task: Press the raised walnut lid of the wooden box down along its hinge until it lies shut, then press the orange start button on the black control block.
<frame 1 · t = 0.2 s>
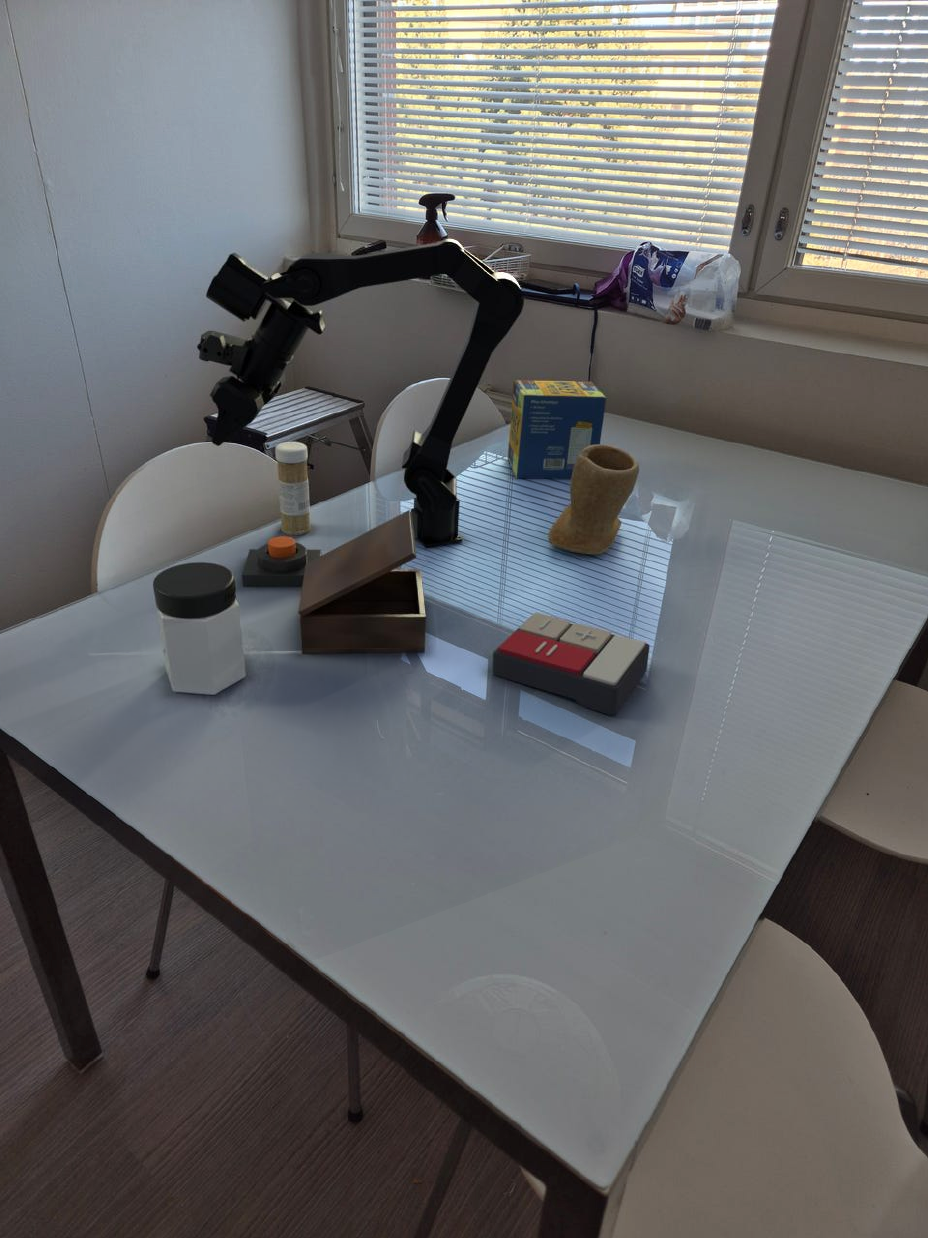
hand: (224, 434, 118), 15 cm above the table, tool tilted 30°, fingers open, 9 cm apart
start button: (281, 547, 111), point 4 cm above the table, slide at 0.2 cm
sprinkles bottle: (296, 531, 126), on the table
protein box: (550, 470, 156), on the table
lid: (357, 561, 97), point 9 cm above the table, hinge at 30.0°
stone cup: (589, 541, 128), on the table
control block: (283, 574, 113), on the table
wooden box: (364, 626, 102), on the table
jar: (206, 675, 91), on the table
calculator: (569, 674, 95), on the table
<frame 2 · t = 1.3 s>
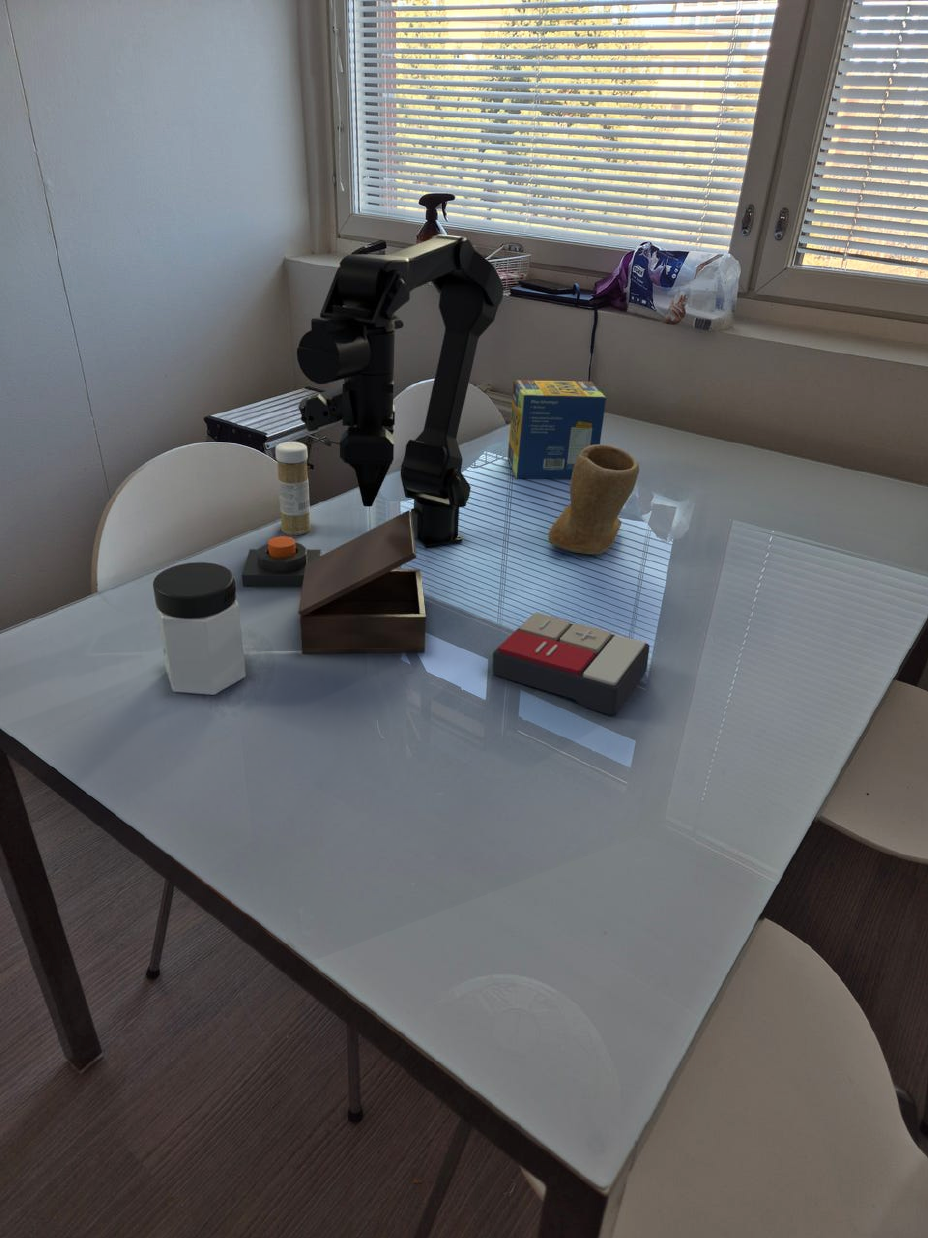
hand: (369, 493, 106), 13 cm above the table, tool pointing down, fingers open, 9 cm apart
nothing on the table moved.
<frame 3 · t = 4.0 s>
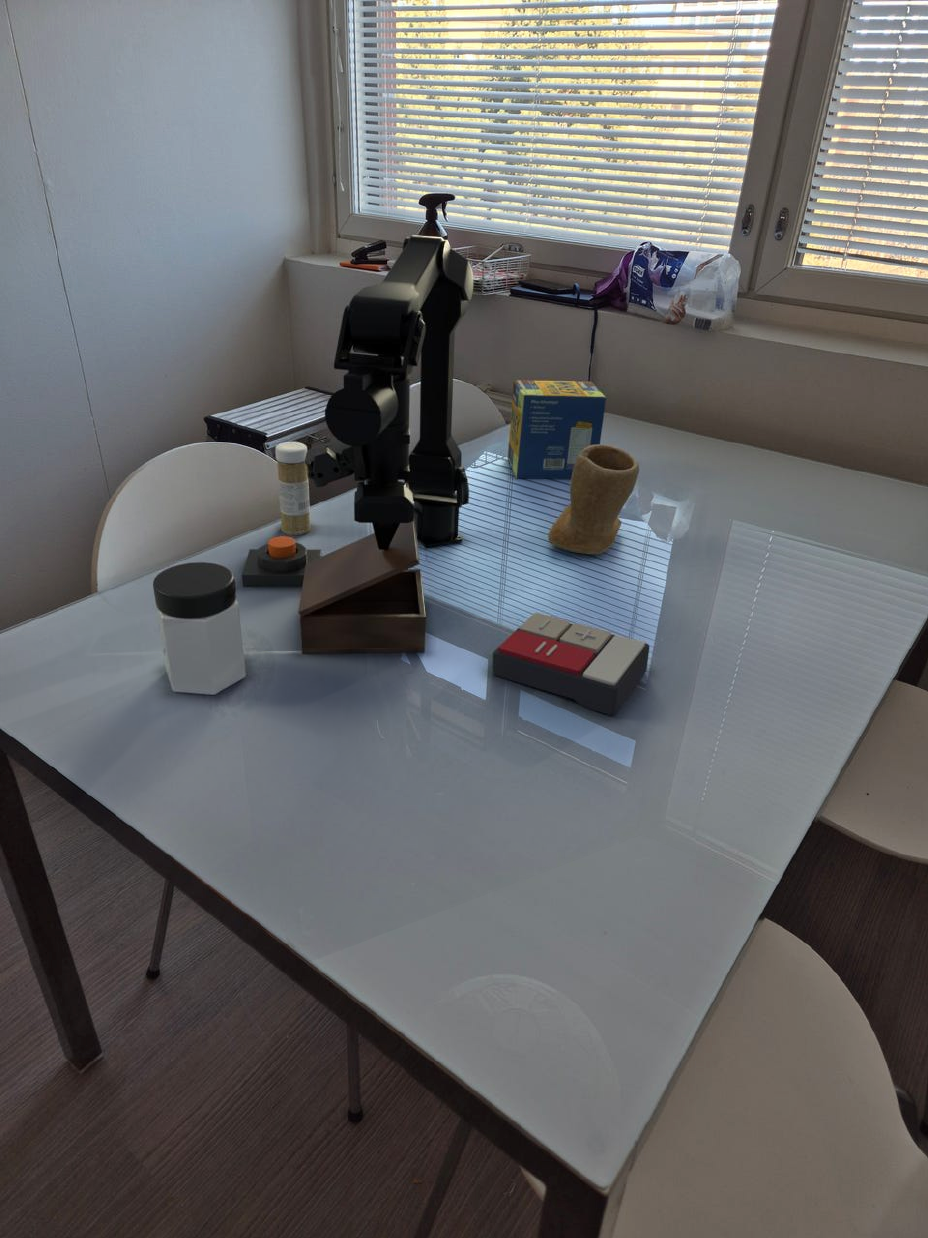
hand: (383, 548, 97), 11 cm above the table, tool pointing down, fingers closed
lid: (359, 563, 97), point 9 cm above the table, hinge at 26.7°
everything else where it was.
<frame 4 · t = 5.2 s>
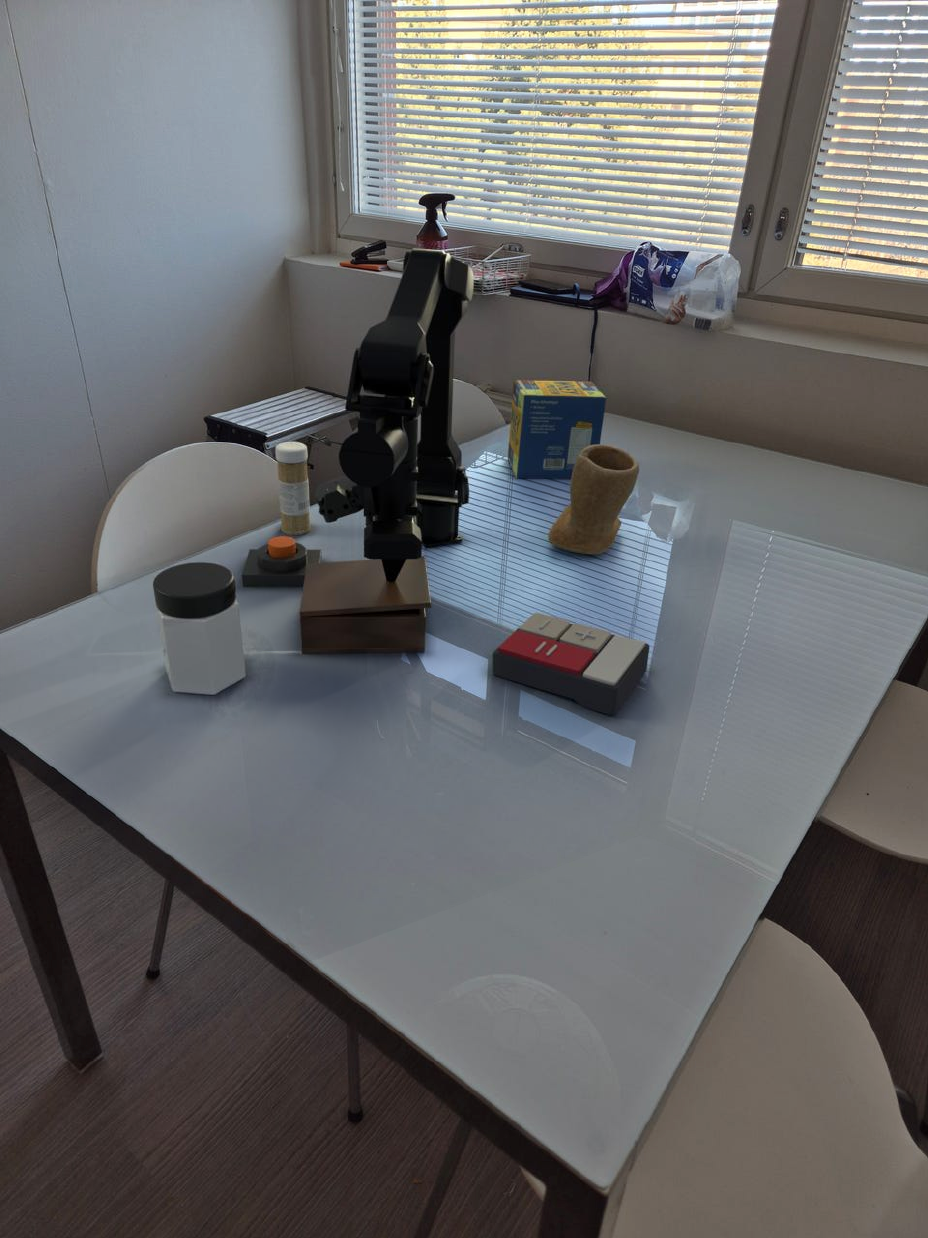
hand: (390, 580, 99), 6 cm above the table, tool pointing down, fingers closed, pressing on lid
lid: (366, 584, 99), point 6 cm above the table, hinge at 4.4°, touching gripper
everything else where it was.
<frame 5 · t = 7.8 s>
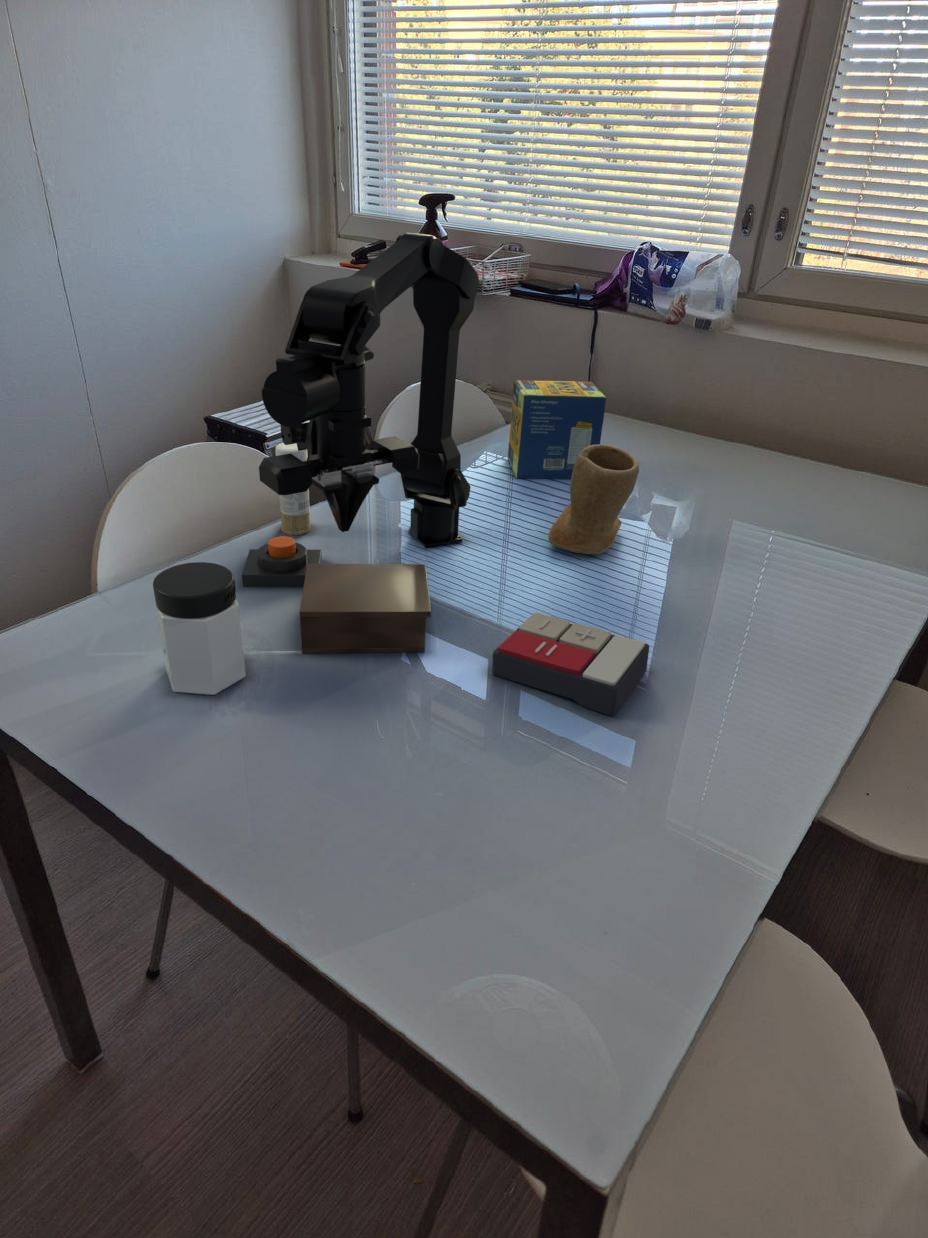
hand: (343, 530, 101), 10 cm above the table, tool pointing down, fingers closed
lid: (366, 589, 99), point 5 cm above the table, hinge at -0.2°, touching wooden box
everything else where it was.
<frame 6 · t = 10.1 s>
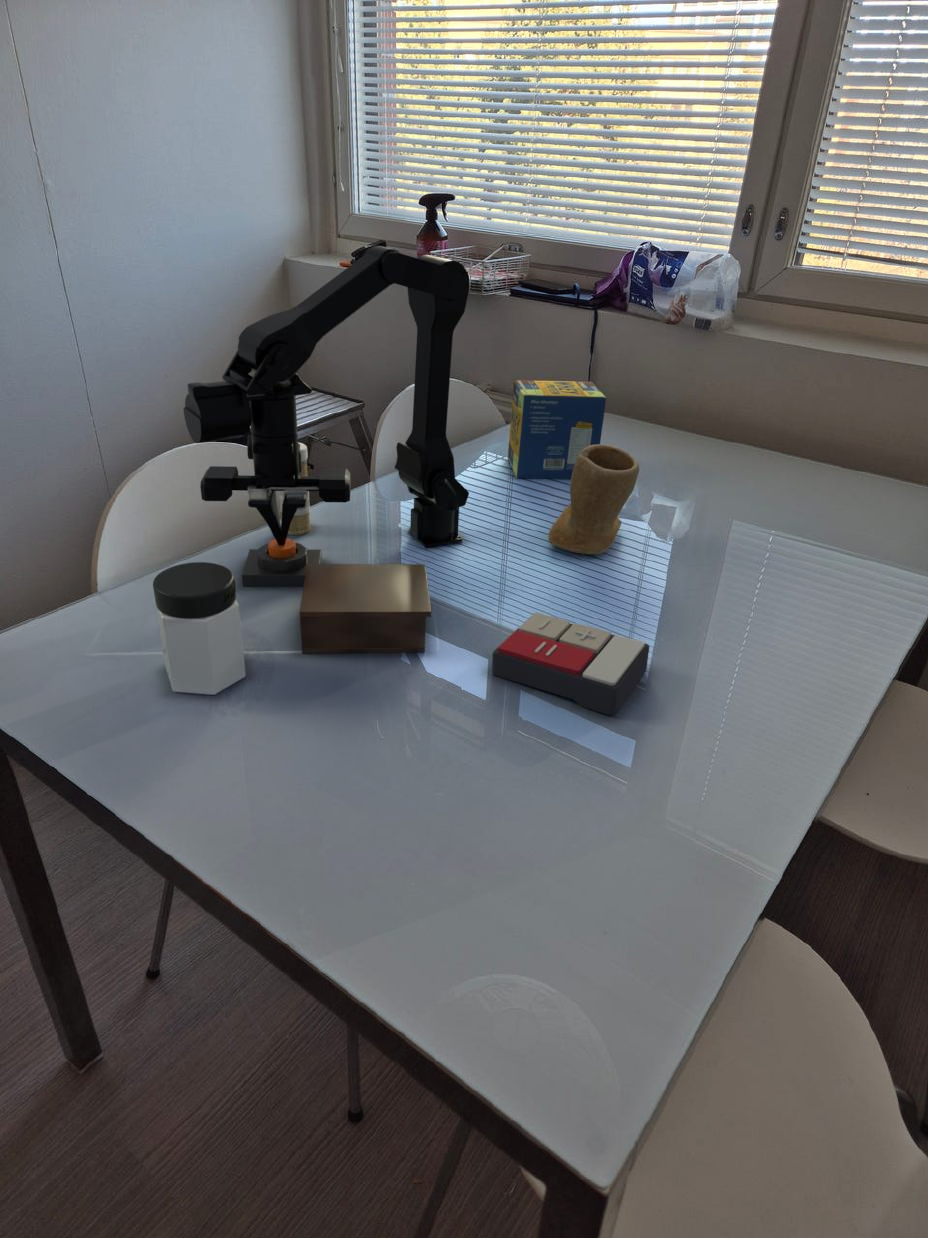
hand: (282, 543, 111), 5 cm above the table, tool pointing down, fingers closed, pressing on start button
start button: (282, 549, 111), point 4 cm above the table, slide at -0.2 cm, touching gripper
everything else where it was.
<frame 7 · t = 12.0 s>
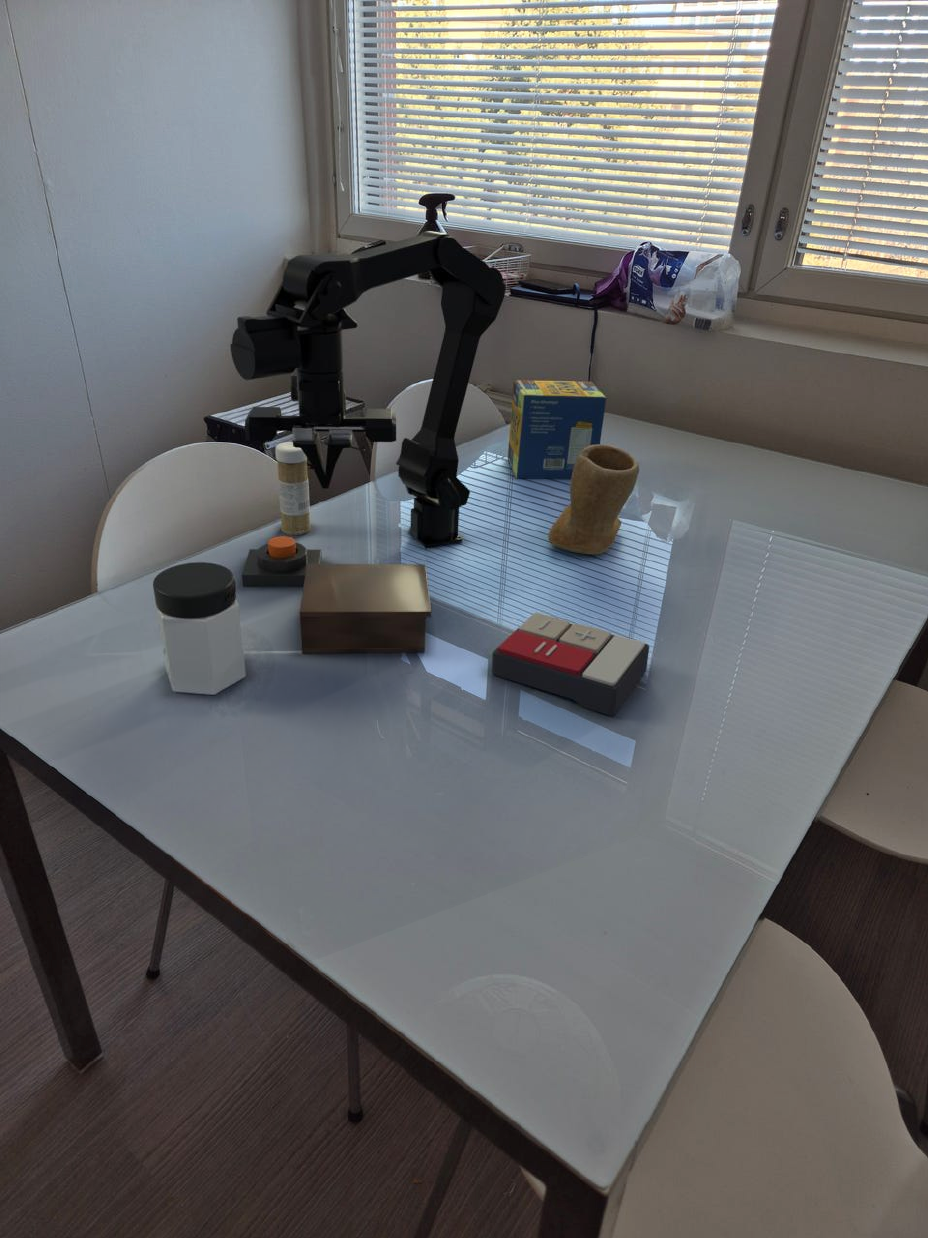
hand: (325, 487, 109), 12 cm above the table, tool pointing down, fingers closed
start button: (281, 547, 111), point 4 cm above the table, slide at 0.2 cm
everything else where it was.
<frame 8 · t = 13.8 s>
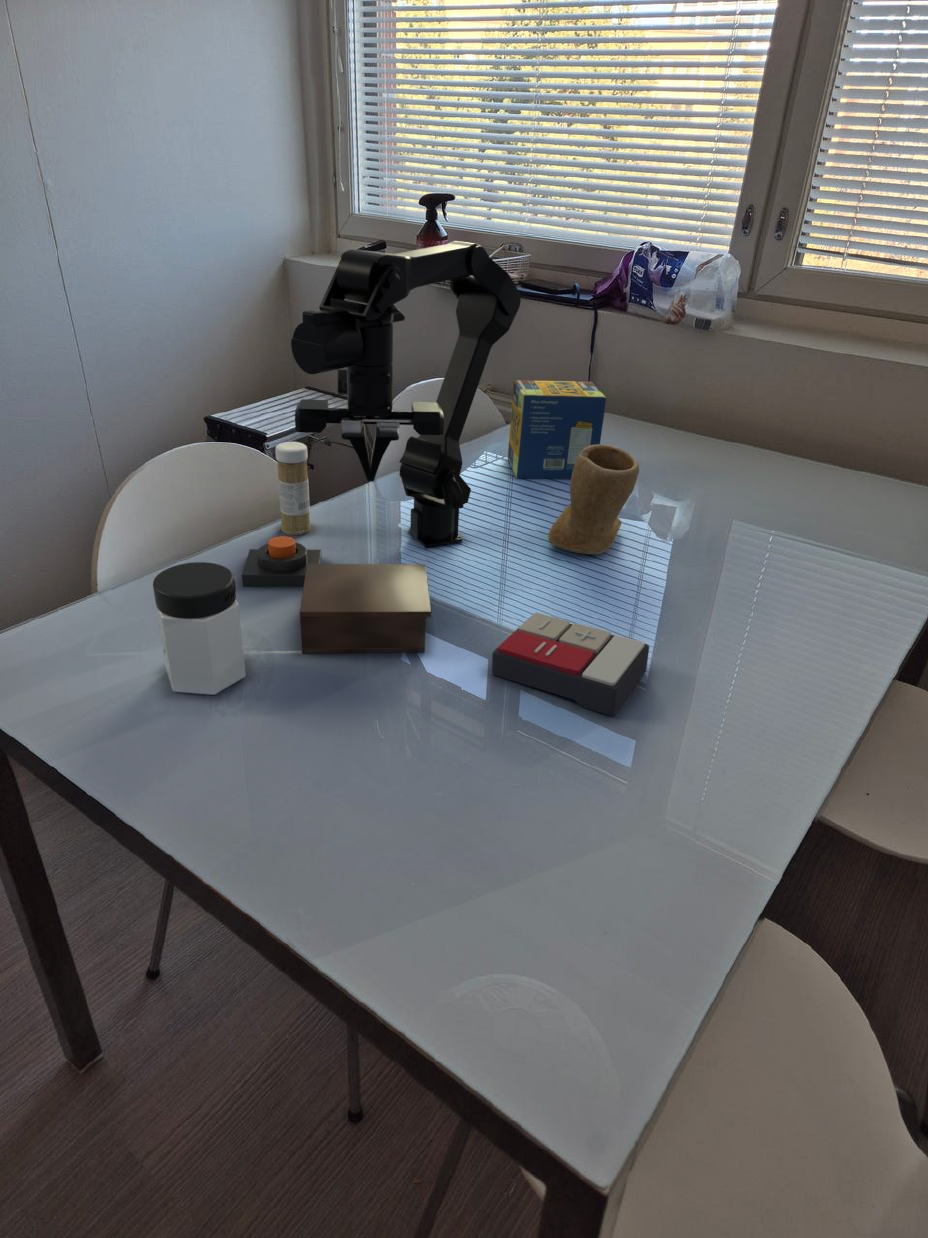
hand: (370, 480, 110), 13 cm above the table, tool pointing down, fingers closed
nothing on the table moved.
at the end: lid at +0° (first picture: +30°); start button pushed in 0.9 cm at the most during the clip, back to 0.2 cm at the end; start button slide at 0.2 cm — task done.
